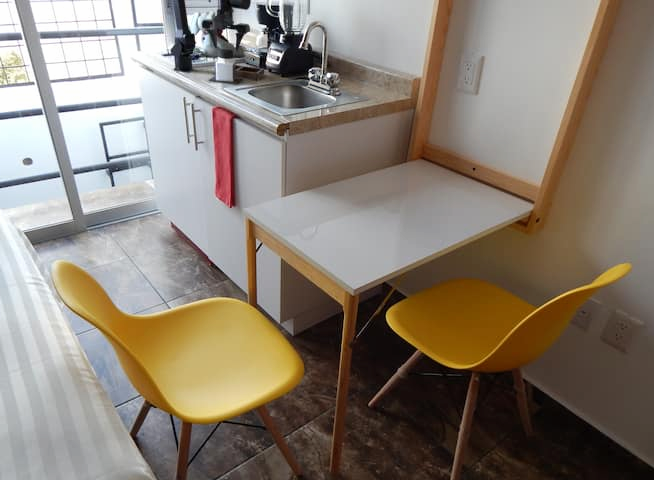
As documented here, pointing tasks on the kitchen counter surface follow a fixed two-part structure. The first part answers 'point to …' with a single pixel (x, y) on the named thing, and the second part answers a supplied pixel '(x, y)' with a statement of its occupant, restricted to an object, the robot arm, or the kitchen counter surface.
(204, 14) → the plush elephant
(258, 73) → the holder
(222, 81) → the mat
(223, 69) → the medicine bottle
